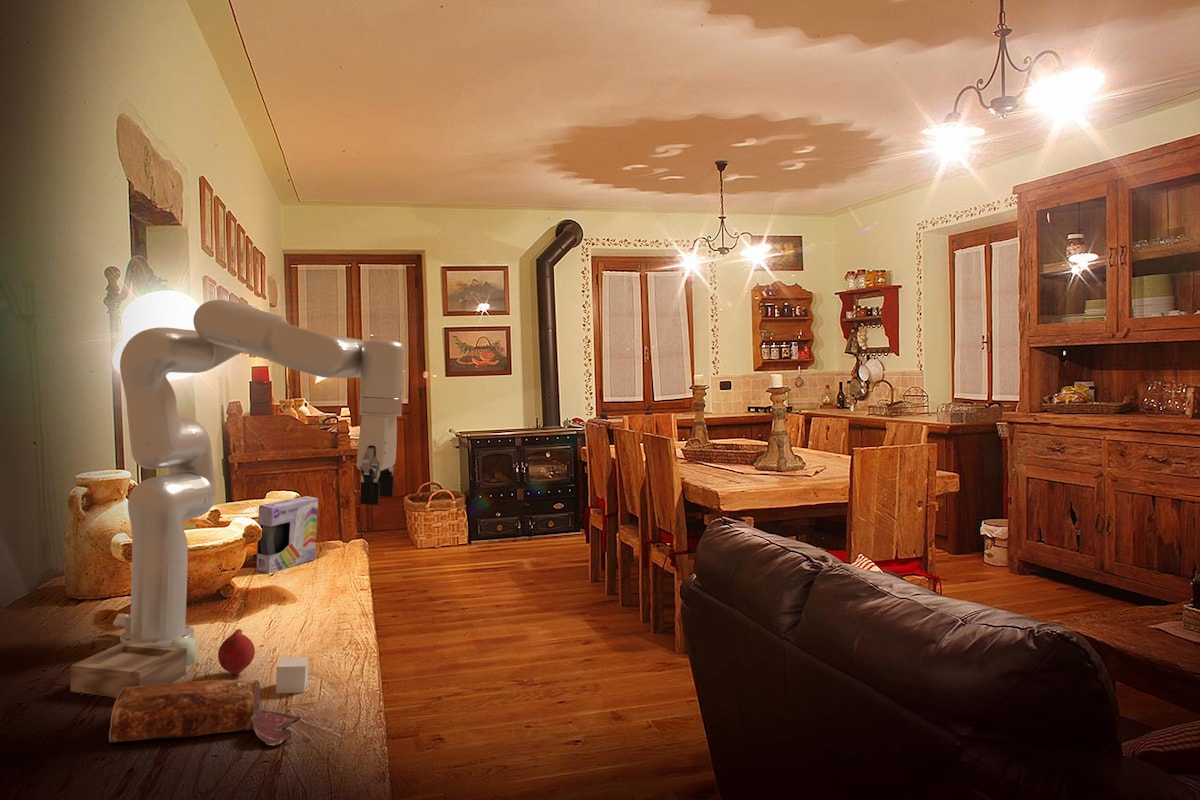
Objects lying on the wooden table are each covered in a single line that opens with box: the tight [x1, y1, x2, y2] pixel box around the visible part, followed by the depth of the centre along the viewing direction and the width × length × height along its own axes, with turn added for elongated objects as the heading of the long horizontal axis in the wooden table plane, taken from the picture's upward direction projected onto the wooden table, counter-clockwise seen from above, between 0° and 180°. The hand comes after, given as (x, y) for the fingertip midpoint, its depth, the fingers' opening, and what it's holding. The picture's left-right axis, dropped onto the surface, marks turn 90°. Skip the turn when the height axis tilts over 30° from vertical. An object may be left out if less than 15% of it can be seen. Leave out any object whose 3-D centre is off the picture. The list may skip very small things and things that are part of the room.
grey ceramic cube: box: [275, 656, 310, 694], centre depth 141 cm, size 4×4×4 cm
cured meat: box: [108, 679, 302, 747], centre depth 125 cm, size 18×25×7 cm
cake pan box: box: [255, 495, 319, 574], centre depth 224 cm, size 19×5×18 cm, turn 159°
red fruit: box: [217, 628, 256, 676], centre depth 146 cm, size 6×6×8 cm
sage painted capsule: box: [170, 637, 197, 667], centre depth 150 cm, size 4×4×4 cm
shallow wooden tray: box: [69, 642, 187, 699], centre depth 140 cm, size 12×12×4 cm
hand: (377, 500), depth 154 cm, fingers open, 9 cm apart
